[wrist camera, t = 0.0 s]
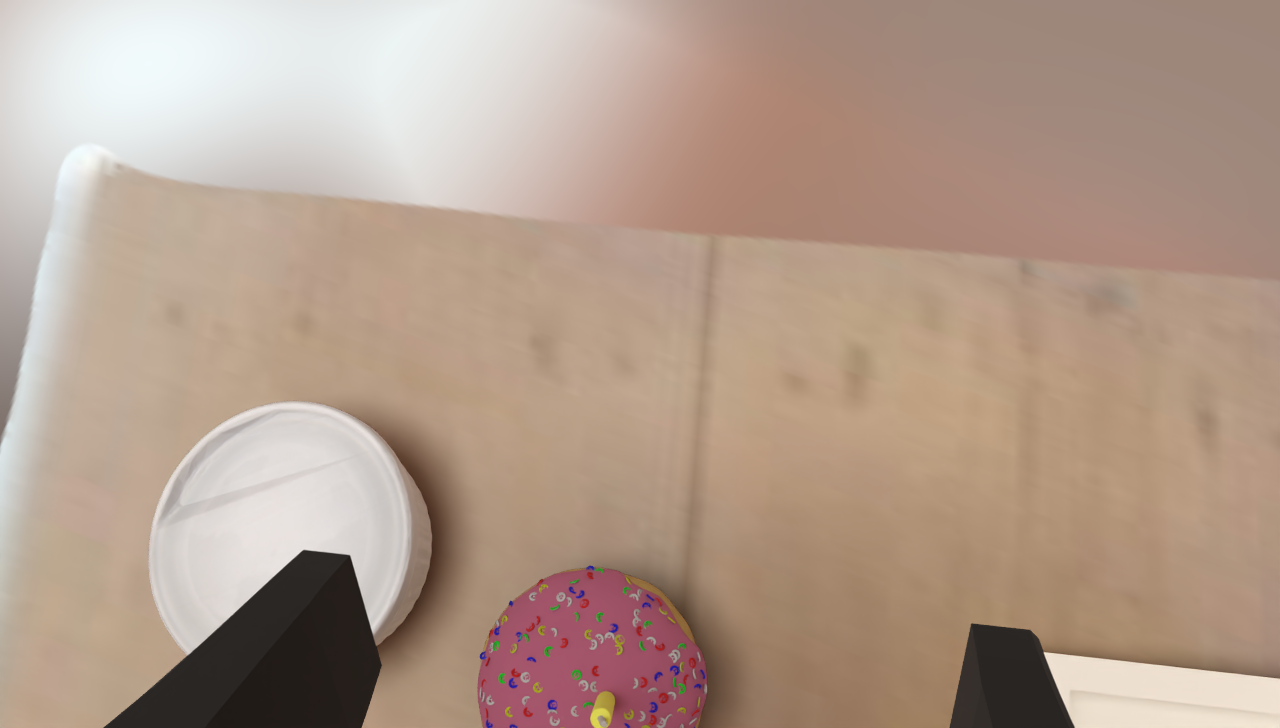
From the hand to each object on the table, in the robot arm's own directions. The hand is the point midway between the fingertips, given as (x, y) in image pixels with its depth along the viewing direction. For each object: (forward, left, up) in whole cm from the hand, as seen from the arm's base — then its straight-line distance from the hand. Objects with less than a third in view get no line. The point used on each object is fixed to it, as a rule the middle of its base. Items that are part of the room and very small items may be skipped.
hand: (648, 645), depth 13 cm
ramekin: (+1, +19, -33) cm, 38 cm away
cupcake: (-3, +6, -32) cm, 33 cm away
